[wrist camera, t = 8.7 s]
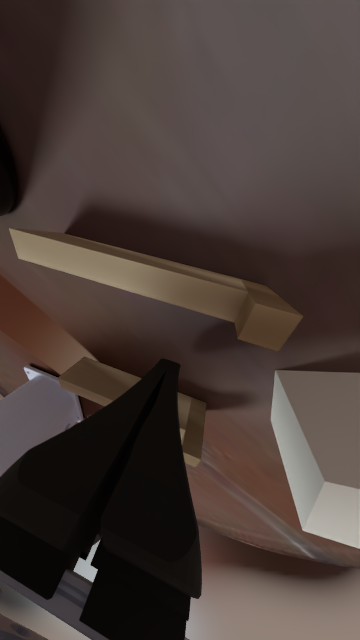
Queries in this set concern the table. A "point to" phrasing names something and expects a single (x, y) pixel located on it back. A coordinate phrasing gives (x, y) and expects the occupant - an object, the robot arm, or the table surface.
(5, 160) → the supplement bottle
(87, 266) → the chute
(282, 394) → the beige cube
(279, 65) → the table surface
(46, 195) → the table surface
